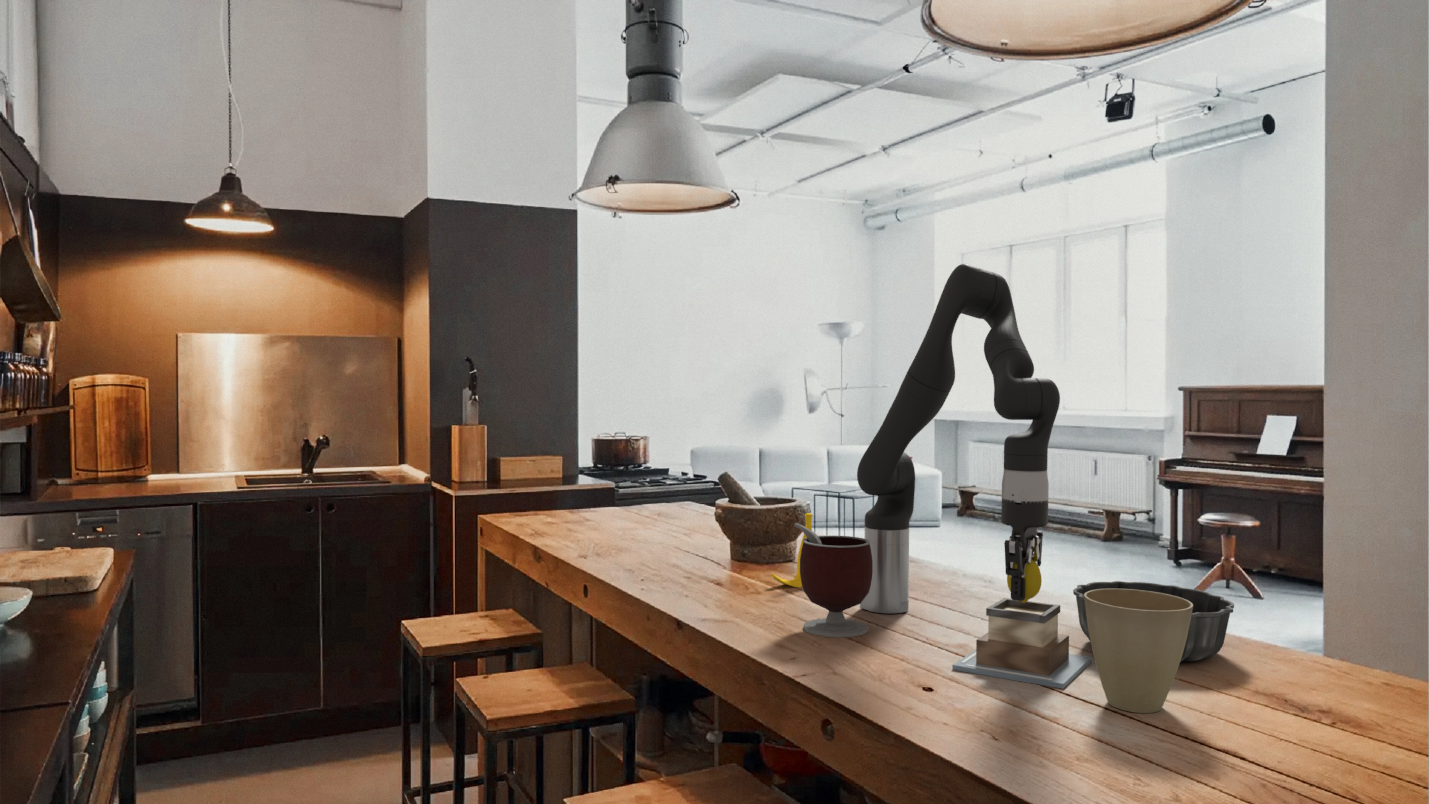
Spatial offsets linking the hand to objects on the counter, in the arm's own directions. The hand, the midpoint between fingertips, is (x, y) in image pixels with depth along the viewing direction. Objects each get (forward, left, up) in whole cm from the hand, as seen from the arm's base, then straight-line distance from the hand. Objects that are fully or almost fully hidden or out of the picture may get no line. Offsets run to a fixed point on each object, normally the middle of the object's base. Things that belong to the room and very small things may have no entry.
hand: (1023, 596), depth 169 cm
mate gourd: (-38, +4, -12) cm, 40 cm away
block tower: (0, 0, -12) cm, 12 cm away
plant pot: (+20, -11, -12) cm, 26 cm away
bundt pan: (+16, +23, -12) cm, 30 cm away
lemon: (0, 0, -1) cm, 1 cm away
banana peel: (-63, +37, -12) cm, 74 cm away
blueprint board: (0, 0, -12) cm, 12 cm away
